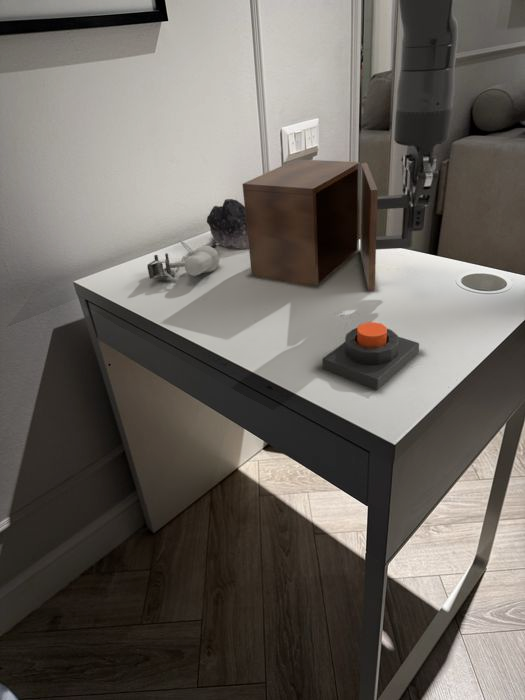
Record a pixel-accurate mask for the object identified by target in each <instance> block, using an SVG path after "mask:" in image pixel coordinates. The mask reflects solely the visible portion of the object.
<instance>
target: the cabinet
mask: <svg viewBox="0 0 525 700" xmlns="http://www.w3.org/2000/svg"><path fill="white" fill-rule="evenodd" d="M242 193H243V205H244V206H245V214H246V224H247V233H248V243H249V248H248V249H249V250H248V253H249V261H250V262H249V263H250V271H251V277H256V278H262V279H267V280H272V281H278V282H284V283H290V284H296V285H301V286H307V287H313V288H317V287H319V285H321V284H322V283H323V282H324V281H325V280H326V279H327V278H329V277H330V276H331V275H333V273H335V272H336V271H337V270H338V269H339V268H341V266H343V265H344V264H345V263H346V262H347V261H349V260H350V259H351V258H352V257H353V256H355V255H356V254H357V253H358V252H360V199H361V162H360V161H346V160H345V161H344V160H343V161H342V160H341V161H340V160H321V159H320V160H319V159H318V160H317V159H293V160H292V161H289V162H287V163H285V164H282V165H280V166H279V167H276V168H274V169H272V170H269V171H267V172H266V173H265V172H264V173H263V174H261V175H258V176H256V177H254V178H252V179H250V180H248V181H246V182H244V183H242Z"/></svg>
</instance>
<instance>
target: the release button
mask: <svg viewBox="0 0 525 700" xmlns="http://www.w3.org/2000/svg"><path fill="white" fill-rule="evenodd" d="M356 328H357V342H358V344H359V345H362V346H365V347H380V346H384V345H385V344H386V340H387V329H388V328H387V326H385V325H384V324H382V323H379V322H373V321H371V322H370V321H369V322H364V323H361V324H360V325H358V327H356Z"/></svg>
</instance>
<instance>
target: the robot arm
mask: <svg viewBox="0 0 525 700" xmlns="http://www.w3.org/2000/svg"><path fill="white" fill-rule="evenodd" d="M398 5H399V14H400V15H399V17H400V23H401V27H402V28H401V29H402V37H401V48H400V49H401V50H400V66H399V74H398V75H399V76H398V81H397V87H396V99H395V114H394V115H395V117H394V132H393V133H394V135H393V137H394V138H393V140H394V142H395V143H396V144H397V145H400V146H404V147H406V146H407V147H406V154H402V155H401V158H400V160H401V173H402V174H401V175H402V193H403V194H402V195H406V194H410V201H409V205H410V206H409V219H408V229H409V230H410V231H413V232H420V231H423V229H424V224H425V215H426V214H425V213H426V207H427V206H431V205H432V201H433V198H434V194H435V191H436V187H437V184H438V182H439V181H438V180H439V178H440V174H439V171H438V170H436V168H437V156H435V149H434V148H435V146H437V145H442V144H444V143H446V142H447V141H448V140H449V139H450V132H451V123H452V115H453V114H452V113H453V106H454V105H453V104H454V95H455V86H456V85H455V83H456V81H455V71H456V69H455V66H456V58H457V50H458V40H459V24H458V20H457V18H455V16H454V11H453V9H454V8H453V6H454V0H398ZM435 170H436V171H435Z"/></svg>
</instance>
